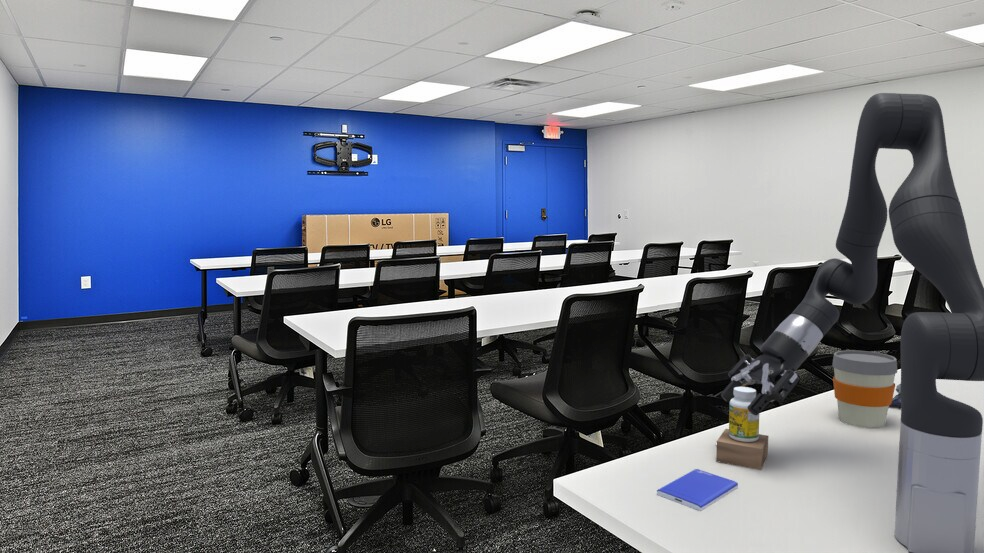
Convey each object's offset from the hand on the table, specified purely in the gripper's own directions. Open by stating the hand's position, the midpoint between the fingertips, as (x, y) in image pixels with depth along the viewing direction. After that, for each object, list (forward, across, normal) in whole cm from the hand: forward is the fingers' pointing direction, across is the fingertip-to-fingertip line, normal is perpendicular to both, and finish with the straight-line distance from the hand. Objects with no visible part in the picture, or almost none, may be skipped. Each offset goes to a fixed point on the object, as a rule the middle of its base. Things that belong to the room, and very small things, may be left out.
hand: (737, 405), depth 118 cm
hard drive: (+18, +10, -2) cm, 21 cm away
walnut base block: (+7, 0, +8) cm, 11 cm away
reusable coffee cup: (-21, -12, +36) cm, 43 cm away
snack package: (-35, -19, +51) cm, 65 cm away
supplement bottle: (+4, 0, +6) cm, 7 cm away
